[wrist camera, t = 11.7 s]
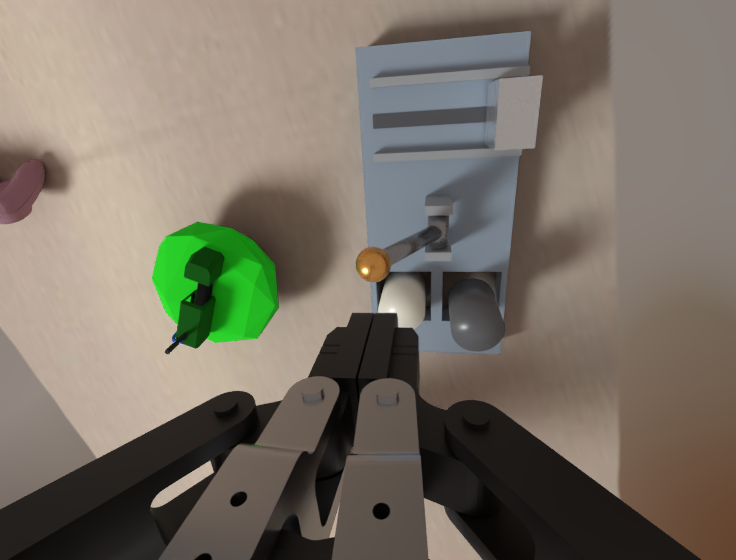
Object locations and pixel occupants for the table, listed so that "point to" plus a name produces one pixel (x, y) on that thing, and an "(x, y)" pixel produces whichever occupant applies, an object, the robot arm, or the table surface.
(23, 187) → the video game controller
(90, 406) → the table surface
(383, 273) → the toggle lever
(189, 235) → the green floating island model
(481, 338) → the button
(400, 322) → the button
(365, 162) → the panel
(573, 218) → the table surface
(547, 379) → the table surface
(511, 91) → the slider knob
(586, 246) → the table surface
